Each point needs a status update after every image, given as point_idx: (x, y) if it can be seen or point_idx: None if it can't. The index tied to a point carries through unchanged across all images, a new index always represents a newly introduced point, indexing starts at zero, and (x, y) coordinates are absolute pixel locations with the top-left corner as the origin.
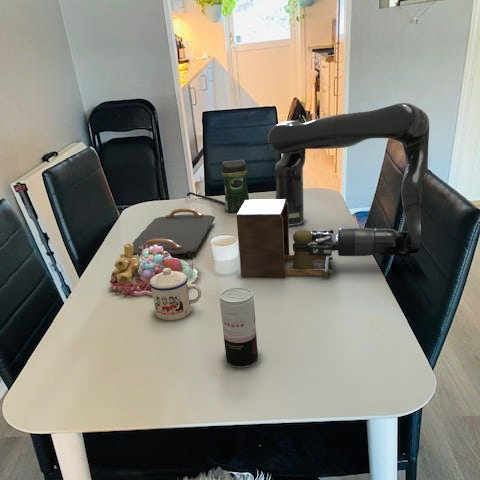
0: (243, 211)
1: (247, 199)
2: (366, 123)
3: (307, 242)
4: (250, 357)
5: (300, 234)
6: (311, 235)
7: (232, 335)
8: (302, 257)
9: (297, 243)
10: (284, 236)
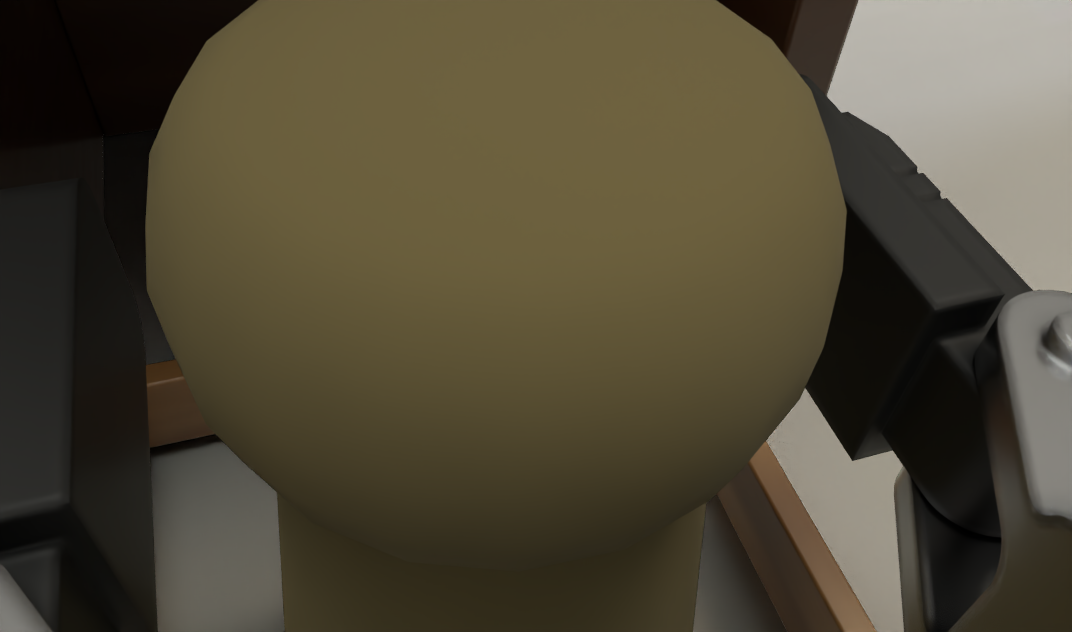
0: None
1: None
2: None
3: (288, 498)
4: None
5: (203, 73)
6: (535, 447)
7: None
8: (284, 601)
9: (10, 260)
10: (745, 6)
